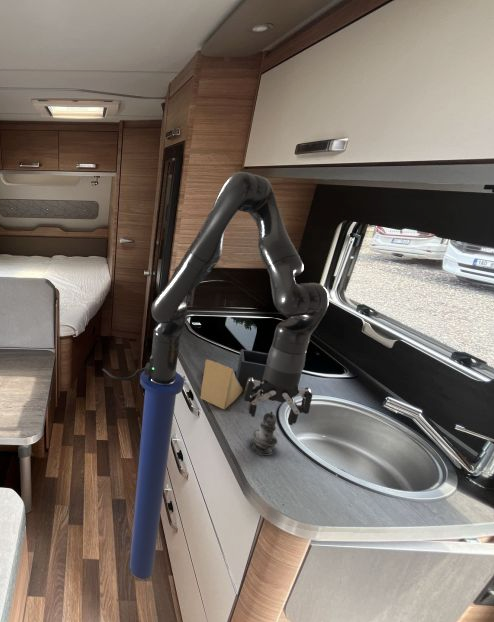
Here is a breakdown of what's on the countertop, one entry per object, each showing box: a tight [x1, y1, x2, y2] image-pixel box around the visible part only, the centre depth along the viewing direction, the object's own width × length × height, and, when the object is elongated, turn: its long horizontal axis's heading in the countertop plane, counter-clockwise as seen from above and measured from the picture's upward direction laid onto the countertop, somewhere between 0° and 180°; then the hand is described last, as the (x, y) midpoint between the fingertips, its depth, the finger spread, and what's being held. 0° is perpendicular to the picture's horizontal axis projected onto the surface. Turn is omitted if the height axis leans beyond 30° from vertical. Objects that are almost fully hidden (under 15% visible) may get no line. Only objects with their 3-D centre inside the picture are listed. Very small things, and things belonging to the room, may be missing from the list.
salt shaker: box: [250, 411, 278, 456], centre depth 88 cm, size 6×6×12 cm
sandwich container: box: [200, 359, 245, 410], centre depth 110 cm, size 9×15×15 cm, turn 133°
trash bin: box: [235, 348, 269, 392], centre depth 117 cm, size 10×10×10 cm
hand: (270, 418), depth 86 cm, fingers open, 8 cm apart
